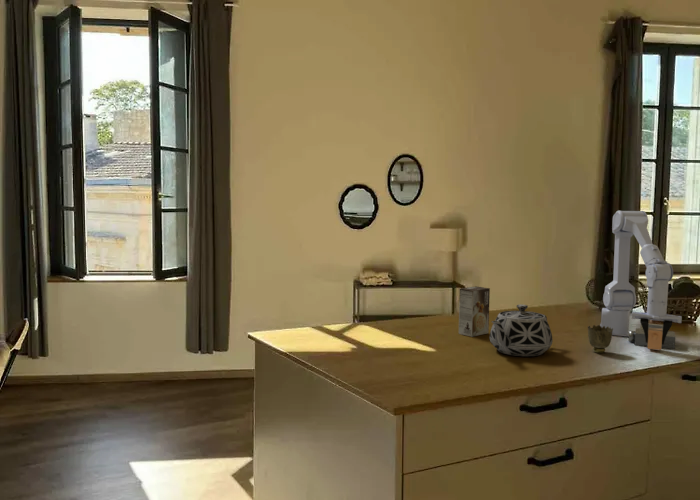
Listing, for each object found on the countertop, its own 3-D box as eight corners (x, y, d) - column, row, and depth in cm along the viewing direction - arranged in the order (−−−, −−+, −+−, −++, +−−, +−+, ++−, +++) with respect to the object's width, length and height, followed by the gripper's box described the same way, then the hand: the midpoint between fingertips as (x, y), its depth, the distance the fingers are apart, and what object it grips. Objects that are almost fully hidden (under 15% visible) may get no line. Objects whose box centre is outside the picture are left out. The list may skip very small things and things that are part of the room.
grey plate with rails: (628, 344, 234) (629, 326, 234) (628, 339, 242) (629, 321, 242) (674, 349, 229) (675, 330, 228) (673, 343, 237) (674, 325, 236)
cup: (599, 356, 218) (600, 330, 217) (581, 350, 224) (582, 326, 223) (616, 353, 221) (618, 328, 220) (598, 348, 228) (599, 324, 227)
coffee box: (474, 330, 252) (476, 285, 250) (488, 333, 247) (490, 288, 245) (457, 333, 246) (459, 288, 244) (472, 337, 241) (473, 290, 239)
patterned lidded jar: (464, 354, 217) (465, 306, 215) (518, 340, 238) (520, 296, 237) (518, 367, 203) (520, 316, 202) (570, 350, 225) (572, 303, 223)
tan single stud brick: (647, 349, 224) (648, 331, 223) (647, 345, 229) (648, 327, 228) (661, 351, 222) (662, 332, 222) (661, 347, 227) (662, 328, 227)
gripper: (632, 300, 224) (629, 342, 225) (682, 304, 218) (680, 348, 220) (633, 297, 230) (630, 338, 232) (682, 301, 225) (679, 343, 226)
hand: (654, 342), depth 226 cm, fingers closed on tan single stud brick, 4 cm apart
